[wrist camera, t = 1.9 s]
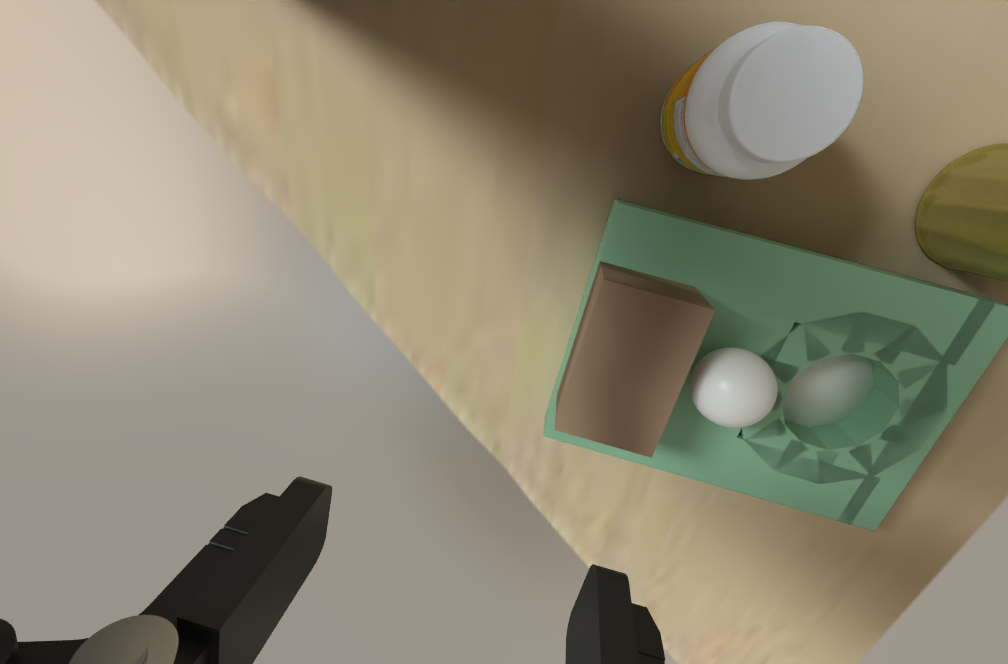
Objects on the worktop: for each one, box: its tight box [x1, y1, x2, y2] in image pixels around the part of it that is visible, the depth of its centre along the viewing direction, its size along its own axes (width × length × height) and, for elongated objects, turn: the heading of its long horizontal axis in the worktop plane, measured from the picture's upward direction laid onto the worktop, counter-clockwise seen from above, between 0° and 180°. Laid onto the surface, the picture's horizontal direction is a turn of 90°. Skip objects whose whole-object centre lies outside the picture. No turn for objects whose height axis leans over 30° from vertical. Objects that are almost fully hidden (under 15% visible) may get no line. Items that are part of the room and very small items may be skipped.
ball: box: [689, 347, 777, 428], centre depth 24 cm, size 4×4×4 cm
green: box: [543, 199, 1008, 531], centre depth 27 cm, size 20×14×2 cm
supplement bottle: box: [661, 22, 864, 180], centre depth 20 cm, size 5×5×10 cm
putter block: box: [554, 261, 715, 458], centre depth 25 cm, size 5×8×4 cm, turn 166°
